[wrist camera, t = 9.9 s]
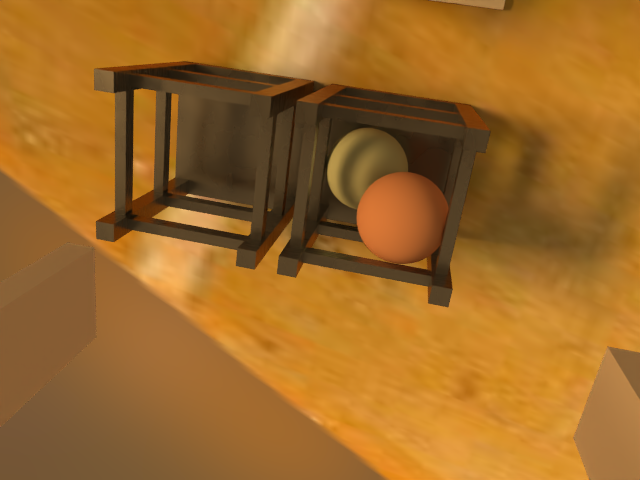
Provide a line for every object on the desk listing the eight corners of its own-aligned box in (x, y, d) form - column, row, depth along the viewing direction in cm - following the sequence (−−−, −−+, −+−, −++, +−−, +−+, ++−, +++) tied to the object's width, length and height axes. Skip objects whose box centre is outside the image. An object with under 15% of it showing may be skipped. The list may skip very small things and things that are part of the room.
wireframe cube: (185, 61, 37) (94, 68, 27) (314, 81, 36) (271, 96, 26) (179, 188, 40) (96, 238, 30) (298, 209, 39) (254, 269, 29)
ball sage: (360, 118, 36) (315, 122, 32) (429, 135, 34) (389, 141, 30) (348, 191, 38) (304, 203, 34) (413, 213, 35) (373, 228, 31)
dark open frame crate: (332, 83, 36) (296, 100, 25) (470, 104, 35) (490, 130, 24) (315, 212, 39) (276, 273, 29) (441, 235, 38) (448, 307, 28)
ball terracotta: (370, 202, 27) (465, 240, 27) (384, 139, 30) (468, 174, 30) (336, 261, 30) (419, 294, 31) (352, 200, 34) (427, 230, 34)
